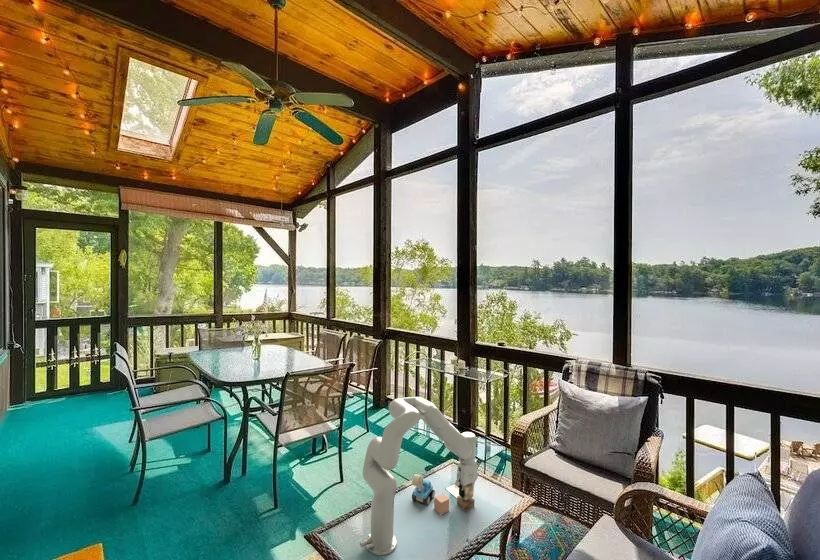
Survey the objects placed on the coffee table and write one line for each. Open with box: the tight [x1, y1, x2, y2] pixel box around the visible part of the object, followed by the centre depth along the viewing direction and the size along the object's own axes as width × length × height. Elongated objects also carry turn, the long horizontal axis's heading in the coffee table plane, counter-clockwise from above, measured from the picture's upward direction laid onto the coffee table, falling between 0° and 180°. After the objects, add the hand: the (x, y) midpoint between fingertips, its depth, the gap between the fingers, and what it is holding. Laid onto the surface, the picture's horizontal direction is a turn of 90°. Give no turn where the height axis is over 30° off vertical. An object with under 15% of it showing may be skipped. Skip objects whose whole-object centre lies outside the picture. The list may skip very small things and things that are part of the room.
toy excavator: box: [411, 473, 436, 506], centre depth 186 cm, size 9×17×17 cm, turn 152°
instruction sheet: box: [445, 484, 460, 499], centre depth 198 cm, size 12×9×1 cm
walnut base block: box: [456, 496, 475, 512], centre depth 185 cm, size 6×6×4 cm
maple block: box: [461, 483, 475, 500], centre depth 185 cm, size 5×5×6 cm
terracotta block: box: [433, 493, 450, 515], centre depth 181 cm, size 5×5×6 cm
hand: (466, 494), depth 185 cm, fingers closed on maple block, 5 cm apart
